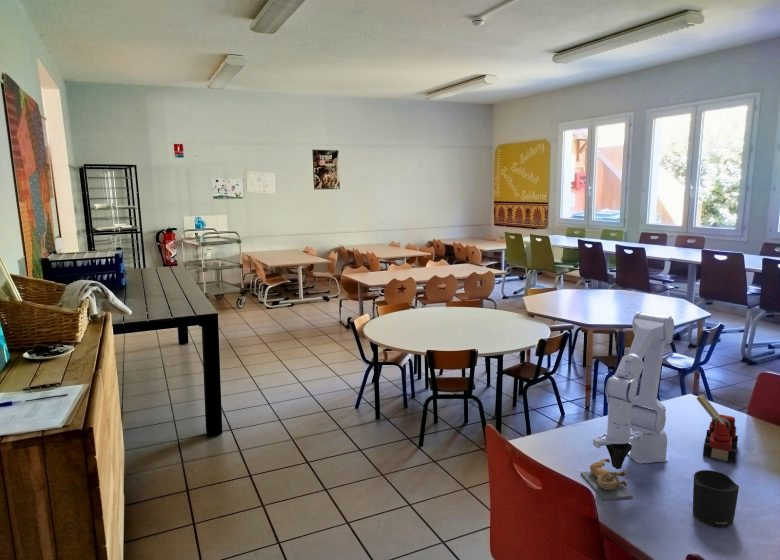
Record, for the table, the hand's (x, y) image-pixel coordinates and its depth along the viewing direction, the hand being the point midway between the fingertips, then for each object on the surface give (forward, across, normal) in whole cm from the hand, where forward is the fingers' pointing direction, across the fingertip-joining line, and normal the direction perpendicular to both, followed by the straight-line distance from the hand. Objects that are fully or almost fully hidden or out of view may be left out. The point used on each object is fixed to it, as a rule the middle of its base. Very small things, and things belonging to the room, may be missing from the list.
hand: (616, 467), depth 147 cm
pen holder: (+6, -13, +19) cm, 24 cm away
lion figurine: (+2, -2, -1) cm, 3 cm away
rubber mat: (+5, +3, 0) cm, 6 cm away
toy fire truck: (+6, -41, -7) cm, 42 cm away
